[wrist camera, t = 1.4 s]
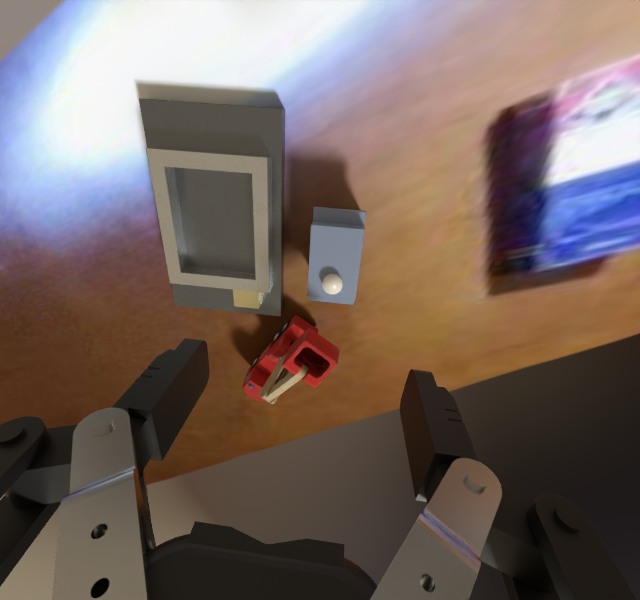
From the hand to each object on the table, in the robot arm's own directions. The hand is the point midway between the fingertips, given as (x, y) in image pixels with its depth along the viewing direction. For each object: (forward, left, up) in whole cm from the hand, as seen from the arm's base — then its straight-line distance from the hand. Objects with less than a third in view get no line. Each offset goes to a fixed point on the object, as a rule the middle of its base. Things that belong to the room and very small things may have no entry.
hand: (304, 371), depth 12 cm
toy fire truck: (+3, +12, -19) cm, 22 cm away
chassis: (+10, -1, -18) cm, 21 cm away
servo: (-1, +1, -18) cm, 19 cm away
